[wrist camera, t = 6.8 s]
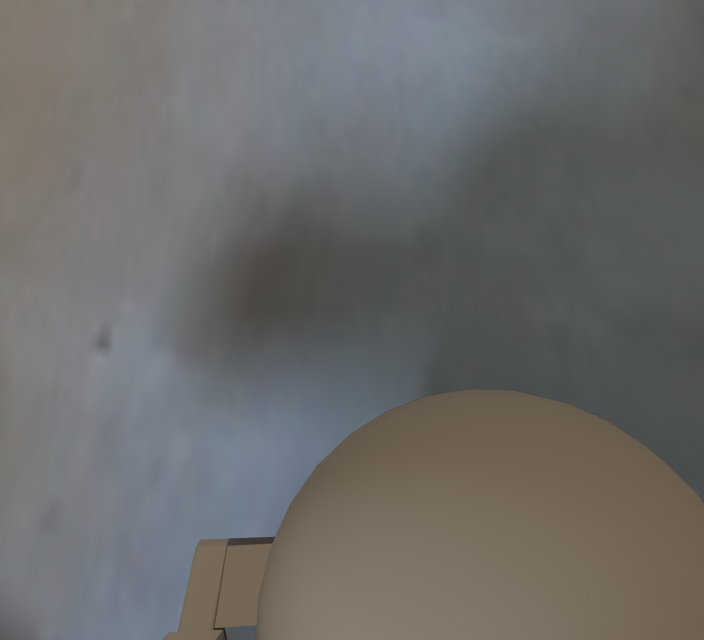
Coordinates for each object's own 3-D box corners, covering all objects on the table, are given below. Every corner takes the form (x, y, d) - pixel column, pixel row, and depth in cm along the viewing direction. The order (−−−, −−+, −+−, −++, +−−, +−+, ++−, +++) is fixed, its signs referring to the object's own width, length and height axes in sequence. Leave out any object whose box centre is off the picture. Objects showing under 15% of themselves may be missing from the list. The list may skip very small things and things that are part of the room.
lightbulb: (529, 696, 15) (1014, 1280, 4) (283, 662, 15) (132, 1144, 4) (541, 445, 16) (918, 391, 6) (317, 416, 16) (270, 309, 6)
